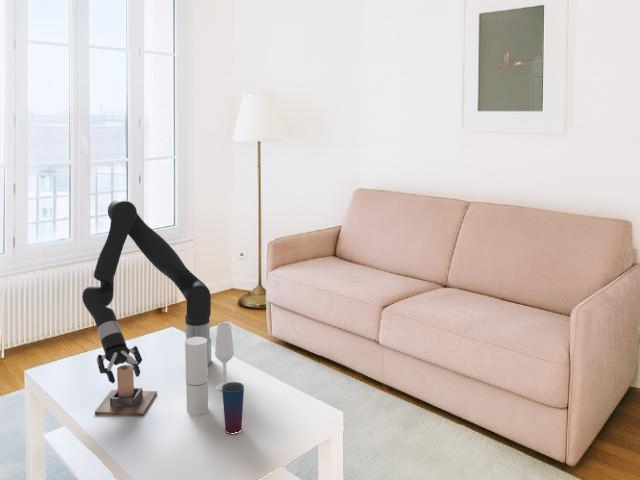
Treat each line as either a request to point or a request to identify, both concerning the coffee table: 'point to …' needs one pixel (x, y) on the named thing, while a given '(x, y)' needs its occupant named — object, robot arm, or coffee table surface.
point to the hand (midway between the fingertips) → (126, 379)
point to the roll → (125, 381)
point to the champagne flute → (224, 347)
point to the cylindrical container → (196, 375)
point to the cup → (233, 406)
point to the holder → (126, 403)
